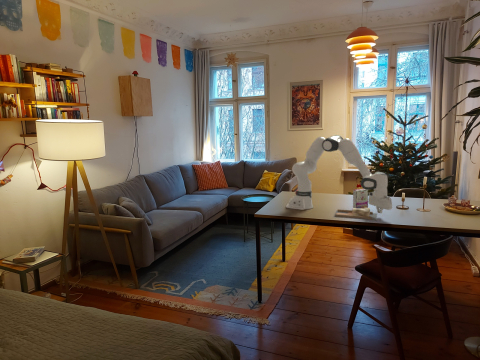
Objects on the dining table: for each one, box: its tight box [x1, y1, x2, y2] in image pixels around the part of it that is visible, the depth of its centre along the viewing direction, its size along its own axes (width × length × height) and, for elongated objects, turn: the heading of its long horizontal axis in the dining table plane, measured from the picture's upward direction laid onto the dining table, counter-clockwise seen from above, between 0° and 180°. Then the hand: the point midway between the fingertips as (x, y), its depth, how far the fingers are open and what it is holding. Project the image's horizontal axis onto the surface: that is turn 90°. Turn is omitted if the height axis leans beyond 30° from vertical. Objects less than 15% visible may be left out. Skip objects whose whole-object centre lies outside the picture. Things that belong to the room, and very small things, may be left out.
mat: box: [332, 208, 378, 221], centre depth 253 cm, size 30×20×2 cm, turn 66°
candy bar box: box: [352, 188, 369, 209], centre depth 269 cm, size 11×5×16 cm, turn 105°
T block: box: [352, 207, 371, 217], centre depth 251 cm, size 12×12×5 cm
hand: (379, 212), depth 246 cm, fingers closed
